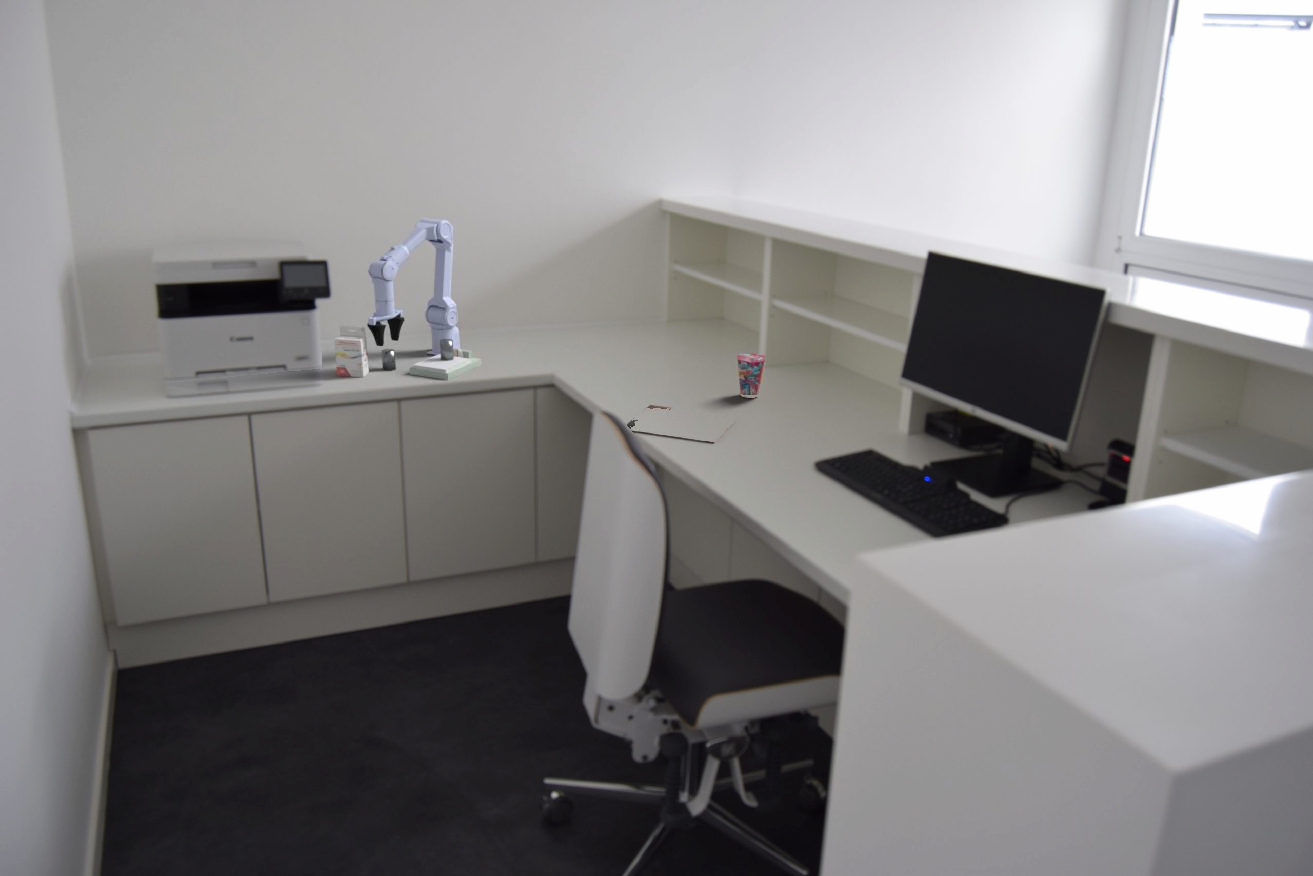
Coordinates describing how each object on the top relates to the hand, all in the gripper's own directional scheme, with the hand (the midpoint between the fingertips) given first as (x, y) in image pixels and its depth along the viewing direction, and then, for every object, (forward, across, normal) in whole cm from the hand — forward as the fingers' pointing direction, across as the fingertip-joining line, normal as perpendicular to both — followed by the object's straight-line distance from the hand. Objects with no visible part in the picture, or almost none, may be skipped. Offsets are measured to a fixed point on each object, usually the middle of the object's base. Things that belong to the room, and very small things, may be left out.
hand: (387, 343), depth 310 cm
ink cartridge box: (+9, +10, -6) cm, 14 cm away
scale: (+8, -8, +16) cm, 20 cm away
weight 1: (+8, 0, 0) cm, 8 cm away
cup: (+9, -23, +111) cm, 114 cm away
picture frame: (+9, +10, +102) cm, 103 cm away
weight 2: (+5, -9, +16) cm, 19 cm away
